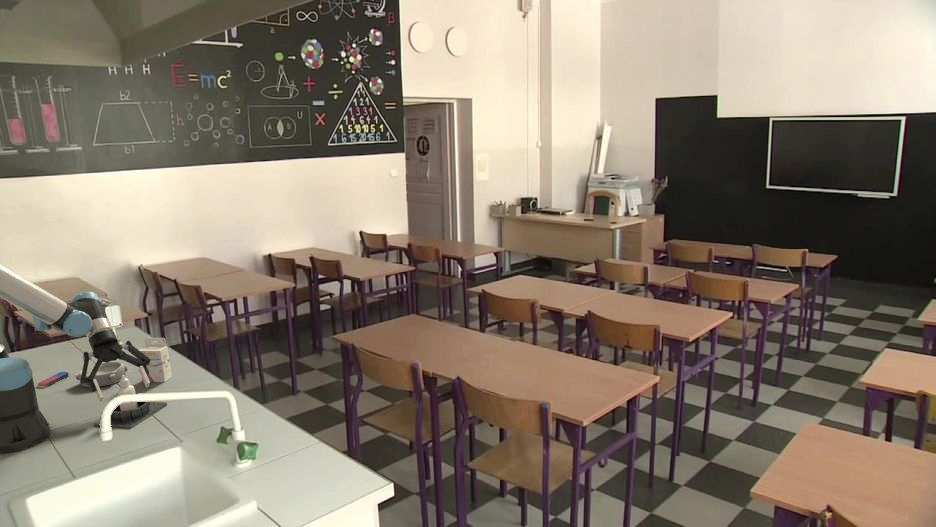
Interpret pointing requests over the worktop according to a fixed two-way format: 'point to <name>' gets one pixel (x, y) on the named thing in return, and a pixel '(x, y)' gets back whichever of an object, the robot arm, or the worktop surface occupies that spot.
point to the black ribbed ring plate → (134, 414)
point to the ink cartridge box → (157, 359)
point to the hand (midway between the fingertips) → (125, 392)
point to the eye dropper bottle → (126, 390)
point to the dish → (107, 373)
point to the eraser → (52, 380)
